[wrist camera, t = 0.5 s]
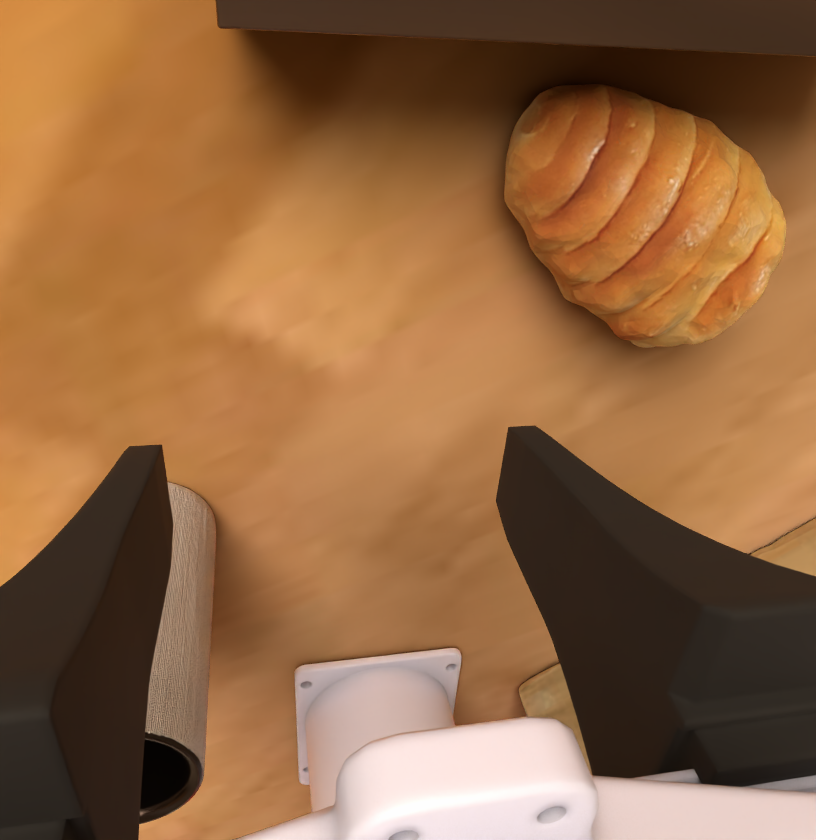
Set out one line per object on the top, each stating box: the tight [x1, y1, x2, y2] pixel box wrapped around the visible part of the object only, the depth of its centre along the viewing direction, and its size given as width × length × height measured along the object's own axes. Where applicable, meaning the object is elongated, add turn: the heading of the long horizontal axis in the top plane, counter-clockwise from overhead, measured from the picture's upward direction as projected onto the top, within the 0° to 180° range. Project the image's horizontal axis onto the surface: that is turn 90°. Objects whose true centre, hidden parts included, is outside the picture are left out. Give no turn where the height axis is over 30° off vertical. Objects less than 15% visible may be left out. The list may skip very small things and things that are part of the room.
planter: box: [139, 482, 216, 824], centre depth 23 cm, size 4×4×10 cm
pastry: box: [504, 84, 786, 348], centre depth 22 cm, size 9×7×4 cm
